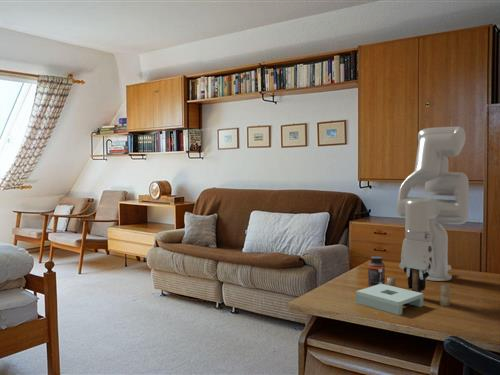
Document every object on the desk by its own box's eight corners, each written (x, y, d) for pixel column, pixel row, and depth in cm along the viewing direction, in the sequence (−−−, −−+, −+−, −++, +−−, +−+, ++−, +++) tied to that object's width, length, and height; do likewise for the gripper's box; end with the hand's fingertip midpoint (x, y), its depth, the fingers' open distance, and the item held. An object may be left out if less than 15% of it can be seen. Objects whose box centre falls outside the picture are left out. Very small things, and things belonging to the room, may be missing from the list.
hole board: (381, 294, 158) (381, 283, 157) (423, 305, 145) (423, 293, 145) (356, 302, 149) (356, 291, 149) (398, 315, 136) (398, 302, 136)
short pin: (389, 289, 163) (390, 276, 163) (397, 291, 161) (397, 278, 161) (385, 291, 161) (385, 277, 161) (392, 293, 159) (392, 279, 159)
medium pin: (442, 302, 148) (442, 283, 147) (451, 304, 145) (451, 285, 145) (437, 304, 146) (438, 285, 146) (446, 306, 144) (446, 286, 143)
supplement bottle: (385, 289, 164) (385, 259, 163) (368, 289, 165) (368, 258, 164) (383, 285, 170) (383, 255, 169) (367, 284, 171) (367, 255, 170)
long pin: (414, 296, 156) (415, 267, 155) (422, 297, 153) (423, 269, 153) (410, 297, 154) (410, 268, 153) (418, 299, 151) (418, 270, 151)
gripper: (445, 237, 148) (445, 292, 149) (401, 232, 161) (401, 282, 162) (433, 240, 144) (433, 296, 145) (389, 234, 156) (389, 286, 157)
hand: (416, 288), depth 153 cm, fingers closed on long pin, 3 cm apart
